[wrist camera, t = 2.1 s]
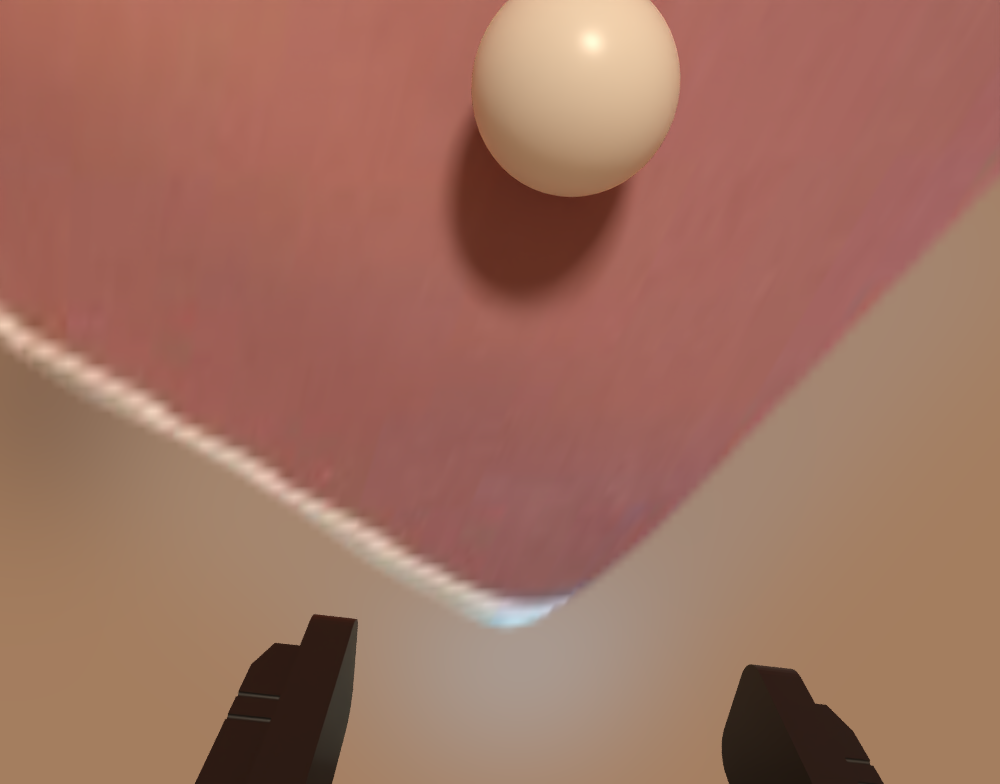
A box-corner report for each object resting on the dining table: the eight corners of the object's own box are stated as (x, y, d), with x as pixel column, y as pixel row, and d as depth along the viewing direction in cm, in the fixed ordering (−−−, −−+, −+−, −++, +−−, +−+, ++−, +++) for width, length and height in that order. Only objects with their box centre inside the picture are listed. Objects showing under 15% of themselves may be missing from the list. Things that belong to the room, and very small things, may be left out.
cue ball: (545, 224, 25) (557, 252, 19) (438, 76, 23) (417, 58, 17) (690, 114, 23) (750, 108, 18) (588, -51, 22) (618, -117, 16)
